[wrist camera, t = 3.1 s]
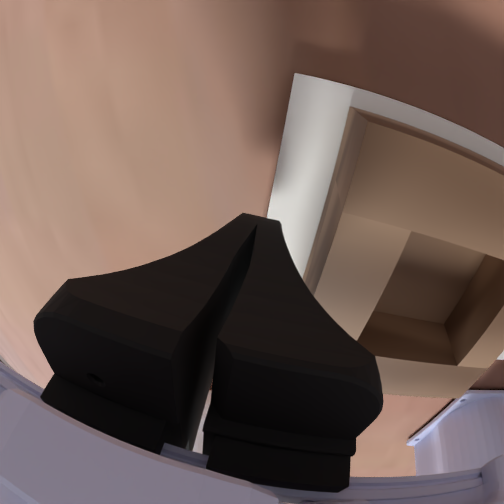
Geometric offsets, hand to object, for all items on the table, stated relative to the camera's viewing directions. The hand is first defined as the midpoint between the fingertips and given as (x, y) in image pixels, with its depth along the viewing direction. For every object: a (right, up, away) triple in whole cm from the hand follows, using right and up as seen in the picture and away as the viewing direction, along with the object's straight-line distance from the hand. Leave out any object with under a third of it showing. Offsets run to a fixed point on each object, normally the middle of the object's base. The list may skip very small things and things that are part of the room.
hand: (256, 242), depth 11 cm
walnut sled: (+7, 0, +1) cm, 7 cm away
